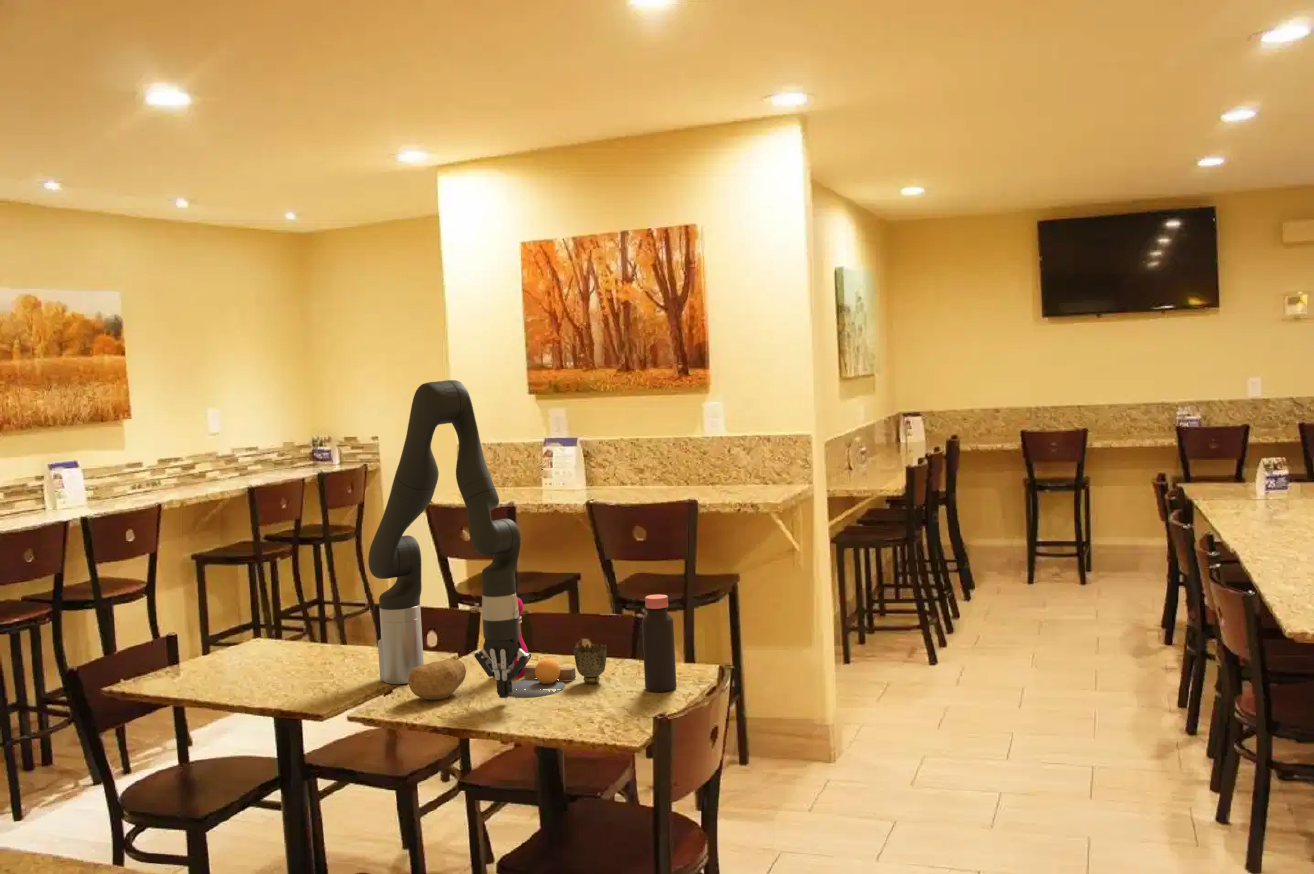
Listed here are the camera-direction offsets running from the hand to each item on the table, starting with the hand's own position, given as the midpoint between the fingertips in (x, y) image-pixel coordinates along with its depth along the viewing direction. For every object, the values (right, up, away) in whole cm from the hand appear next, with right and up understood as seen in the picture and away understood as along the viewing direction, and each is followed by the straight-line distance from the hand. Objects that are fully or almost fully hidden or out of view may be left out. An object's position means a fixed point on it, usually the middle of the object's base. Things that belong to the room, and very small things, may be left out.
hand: (505, 696), depth 227 cm
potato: (-15, -2, +7) cm, 17 cm away
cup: (+17, 0, +13) cm, 22 cm away
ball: (+8, +2, +14) cm, 16 cm away
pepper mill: (-1, -1, +23) cm, 23 cm away
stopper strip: (+8, 0, +19) cm, 20 cm away
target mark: (+5, -1, +11) cm, 12 cm away
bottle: (+33, 0, +6) cm, 33 cm away
